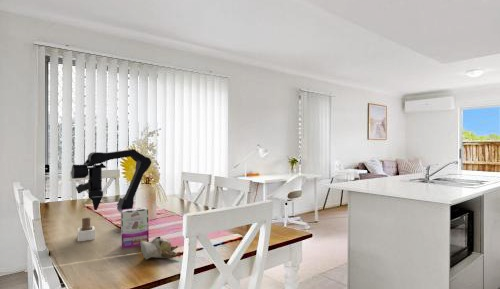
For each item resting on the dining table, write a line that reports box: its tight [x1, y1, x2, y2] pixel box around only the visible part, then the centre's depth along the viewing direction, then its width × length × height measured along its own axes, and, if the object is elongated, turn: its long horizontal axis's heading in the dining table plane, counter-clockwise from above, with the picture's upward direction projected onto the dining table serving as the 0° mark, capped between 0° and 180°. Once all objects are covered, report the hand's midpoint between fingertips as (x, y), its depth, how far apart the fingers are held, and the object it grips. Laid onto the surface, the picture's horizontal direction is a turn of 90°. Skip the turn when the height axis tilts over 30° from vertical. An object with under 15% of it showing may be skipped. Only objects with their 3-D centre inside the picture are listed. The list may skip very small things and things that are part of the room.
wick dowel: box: [81, 217, 91, 231], centre depth 145 cm, size 3×3×9 cm
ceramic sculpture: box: [140, 236, 180, 260], centre depth 123 cm, size 11×9×15 cm
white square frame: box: [77, 225, 96, 242], centre depth 145 cm, size 7×7×4 cm
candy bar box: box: [120, 206, 150, 249], centre depth 136 cm, size 11×5×16 cm, turn 117°
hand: (95, 208), depth 155 cm, fingers open, 9 cm apart
